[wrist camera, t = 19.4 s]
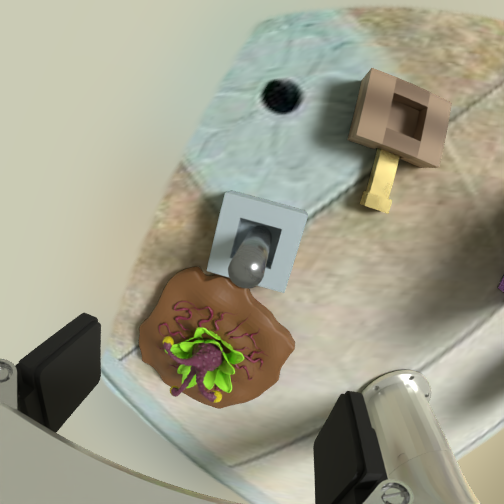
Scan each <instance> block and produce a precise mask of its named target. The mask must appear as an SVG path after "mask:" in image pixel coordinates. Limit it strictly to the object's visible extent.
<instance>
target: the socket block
mask: <svg viewBox="0 0 504 504" xmlns="http://www.w3.org/2000/svg"><path fill="white" fill-rule="evenodd" d="M451 104H452V103H451V102H449V101H447V100H445V99H443V98H441V97H439V96H437V95H435V94H433V93H431V92H429V91H427V90H425V89H422V88H420V87H418V86H416V85H413V84H411V83H409V82H407V81H404V80H402V79H399V78H397V77H394V76H392V75H389V74H387V73H384V72H382V71H379V70H376V69H374V68H371V70H370V71H369V72H368V73H367V74H366V76H365V77H364V78H363V79H362V81H361V86H360V90H359V94H358V99H357V103H356V107H355V111H354V115H353V119H352V123H351V127H350V131H349V135H348V139H347V140H349V141H352V142H355V143H358V144H360V145H363V146H366V147H369V148H372V149H375V148H380V149H383V150H386V151H388V152H391V153H394V154H396V155H399V156H400V158H399V159H401V160H404V161H406V162H409V163H411V164H414V165H416V166H418V167H421V168H439V165H440V161H441V157H442V152H443V147H444V143H445V138H446V133H447V127H448V122H449V116H450V110H451Z"/></svg>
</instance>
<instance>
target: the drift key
mask: <svg viewBox="0 0 504 504" xmlns="http://www.w3.org/2000/svg"><path fill="white" fill-rule="evenodd" d="M399 158H400V156H399V155H396V154H394V153H391V152H388V151H386V150H383V149H380V148H377V152H376V156H375V160H374V164H373V168H372V171H371V175H370V179H369V182H368V186H367V189H366V191H363V195H362V198H361V202H360V204H362V205H364V206H367V207H370V208H373V209H376V210H379V211H382V212H385V213H389V210H390V206H391V203H392V200H390V199H389V195H390V192H391V188H392V184H393V181H394V177H395V173H396V170H397V166H398V162H399Z"/></svg>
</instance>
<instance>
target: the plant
mask: <svg viewBox="0 0 504 504" xmlns="http://www.w3.org/2000/svg"><path fill="white" fill-rule="evenodd" d="M139 331H140V335H139V347H140V350H141V353H142V361H143V362H145V363H147V364H149V365H151V366H152V367H153V368H154V369H155V370H156V371H157V372H158V373H159V375H160V376H161V378H162V380H163V382H164V383H166V384H167V385H169V386H170V387H171V388H170V393H171V395H173V396H178V395H179V394H180V393H181V392H183V393H184V394H186V395H188V396H190V397H191V398H193V399H195V400H197V401H199V402H201V403H203V404H206V405H209V406H212V407H215V408H223V407H227V406H231V405H235V404H239V403H245V402H248V401H250V400H252V399H255V398H256V397H258V396H260V395H261V394H262V393H263V392H264V391H266V390H267V389H269V388H270V387H271V386H272V385H274V384H275V383H276V382H277V381H278V379H279V375H280V370H281V367H282V365H283V364H284V363H285V361H286V360H287V358H288V357H289V355H290V354H291V353H292V352H293V350H294V349H295V341H294V339H293V338H292V336H291V334H290V332H289V331H288V330H287V329H286V328H285V327H284V326H282V325H281V324H280V323H279V322H278V321H277V320H276V319H275V317H274V316H273V314H272V313H271V312H270V311H269V310H268V309H267V308H266V307H265V306H263V305H262V304H261V303H260V302H258V301H257V300H256V299H255V298H254V297H253V296H252V294H251V292H250V290H249V288H247V289H246V288H241V287H238V286H237V285H235V284H234V283H233V282H232V281H231V279H230V278H229V277H226V276H222V275H219V274H215V275H212V276H207V275H205V274H204V273H203V271H202V270H201V269H200V267H191V268H187V269H185V270H182V271H180V272H178V273H177V274H176V275H174V276H173V277H172V278H171V279H170V280H169V281H168V283H167V284H166V286H165V288H164V290H163V292H162V294H161V297H160V299H159V301H158V303H157V305H156V307H155V308H154V310H153V312H152V313H151V315H150V316H149V318H147V319H146V320H145V321H144V322H143V323H142V324H141V325H140V327H139Z"/></svg>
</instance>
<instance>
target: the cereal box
mask: <svg viewBox="0 0 504 504" xmlns="http://www.w3.org/2000/svg"><path fill="white" fill-rule="evenodd" d="M497 288H499V289H500V290H501V291H503V292H504V275H503V277H502V279H501V281H500V283H499V285H498V287H497Z"/></svg>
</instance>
